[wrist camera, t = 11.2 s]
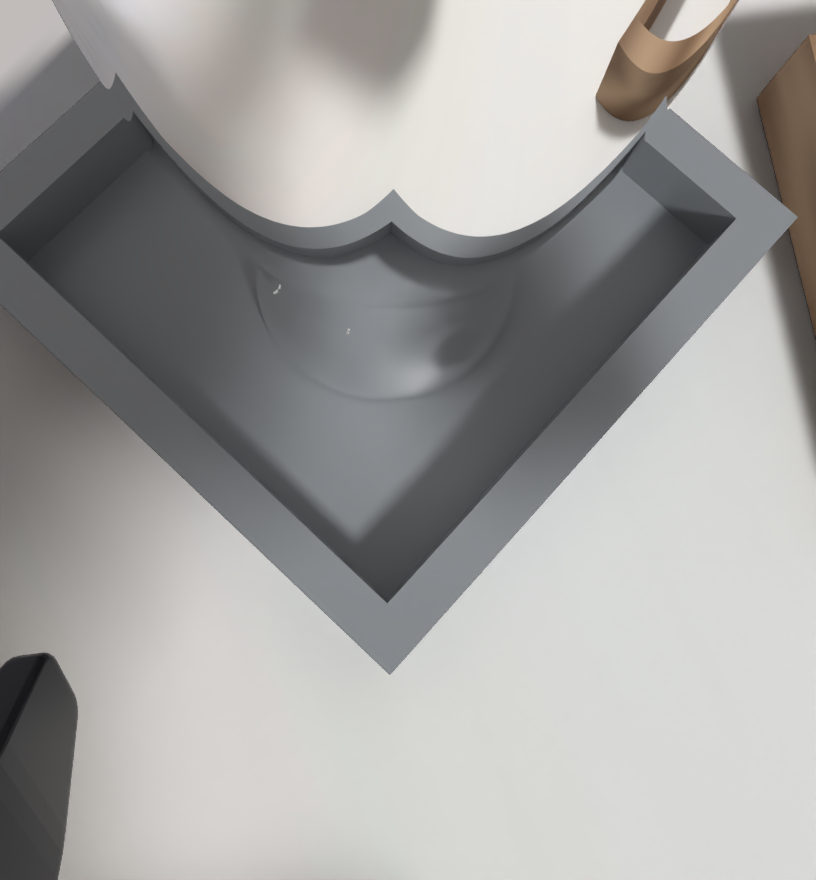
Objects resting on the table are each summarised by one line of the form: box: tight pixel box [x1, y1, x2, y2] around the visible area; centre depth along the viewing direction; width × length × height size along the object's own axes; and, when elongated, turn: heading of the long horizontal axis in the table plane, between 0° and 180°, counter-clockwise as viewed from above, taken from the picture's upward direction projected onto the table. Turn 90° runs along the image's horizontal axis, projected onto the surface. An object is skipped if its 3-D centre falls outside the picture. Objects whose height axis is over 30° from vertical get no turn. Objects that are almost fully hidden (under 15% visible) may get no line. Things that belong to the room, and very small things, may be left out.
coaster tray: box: [0, 81, 798, 675], centre depth 18 cm, size 14×14×2 cm
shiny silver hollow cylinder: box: [52, 0, 739, 401], centre depth 11 cm, size 7×7×15 cm
